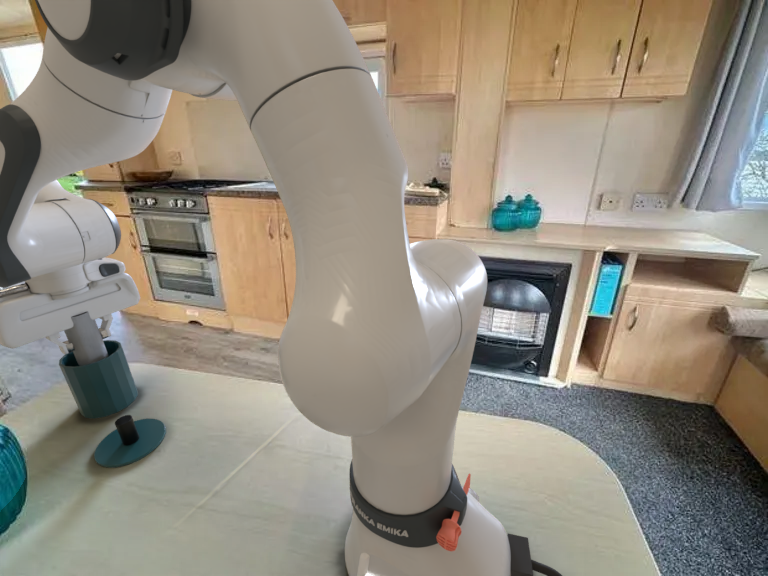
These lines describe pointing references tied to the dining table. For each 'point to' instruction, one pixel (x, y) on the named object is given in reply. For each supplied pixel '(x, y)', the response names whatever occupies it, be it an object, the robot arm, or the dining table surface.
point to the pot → (100, 382)
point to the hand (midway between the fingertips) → (87, 344)
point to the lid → (129, 441)
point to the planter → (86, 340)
